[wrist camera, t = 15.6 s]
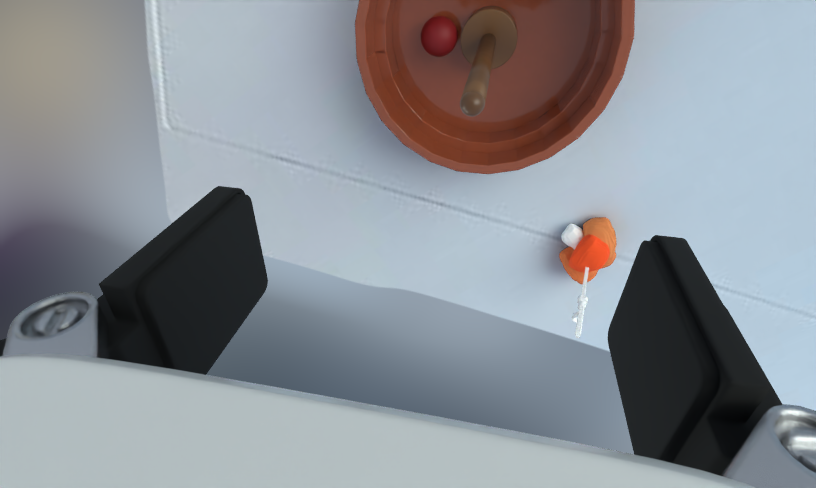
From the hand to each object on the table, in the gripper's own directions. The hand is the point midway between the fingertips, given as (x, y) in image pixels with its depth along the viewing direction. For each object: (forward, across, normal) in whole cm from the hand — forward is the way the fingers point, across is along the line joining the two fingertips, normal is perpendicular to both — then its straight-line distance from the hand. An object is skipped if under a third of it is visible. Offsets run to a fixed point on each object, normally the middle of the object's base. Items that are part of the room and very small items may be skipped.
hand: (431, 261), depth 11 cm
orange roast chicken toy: (+32, -12, +20) cm, 40 cm away
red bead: (+30, +4, 0) cm, 30 cm away
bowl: (+32, 0, 0) cm, 32 cm away
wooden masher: (+32, 0, 0) cm, 32 cm away
